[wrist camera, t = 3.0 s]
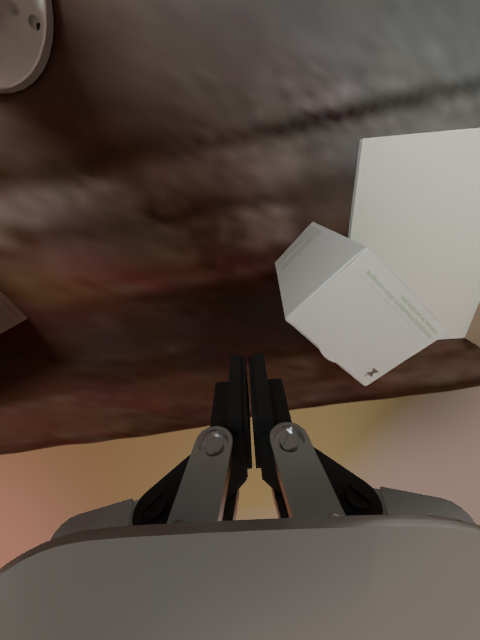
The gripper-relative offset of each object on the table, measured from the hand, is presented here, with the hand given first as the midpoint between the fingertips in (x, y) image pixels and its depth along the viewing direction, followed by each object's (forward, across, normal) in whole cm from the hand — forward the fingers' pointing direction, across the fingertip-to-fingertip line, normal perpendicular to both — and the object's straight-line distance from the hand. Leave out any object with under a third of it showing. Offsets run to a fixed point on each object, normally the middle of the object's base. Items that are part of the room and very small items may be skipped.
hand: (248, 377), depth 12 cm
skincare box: (+19, -9, -1) cm, 21 cm away
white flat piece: (+19, -21, -1) cm, 29 cm away
